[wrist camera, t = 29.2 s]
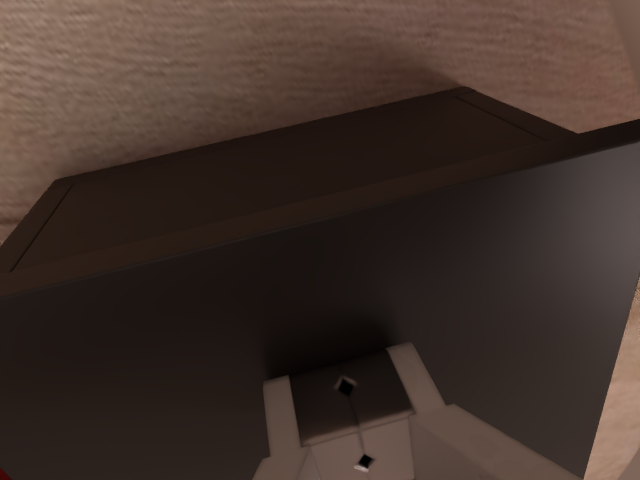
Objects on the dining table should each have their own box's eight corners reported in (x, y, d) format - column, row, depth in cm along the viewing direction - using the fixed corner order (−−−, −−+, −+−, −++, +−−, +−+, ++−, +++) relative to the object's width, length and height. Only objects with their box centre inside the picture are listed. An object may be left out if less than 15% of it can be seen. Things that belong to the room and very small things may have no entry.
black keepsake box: (54, 179, 14) (-61, 317, 8) (465, 85, 15) (619, 149, 9) (204, 469, 22) (199, 642, 16) (465, 394, 23) (548, 530, 17)
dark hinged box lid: (-104, 298, 7) (-136, 331, 7) (645, 116, 9) (681, 129, 8) (199, 644, 16) (199, 673, 16) (549, 532, 17) (563, 554, 17)
